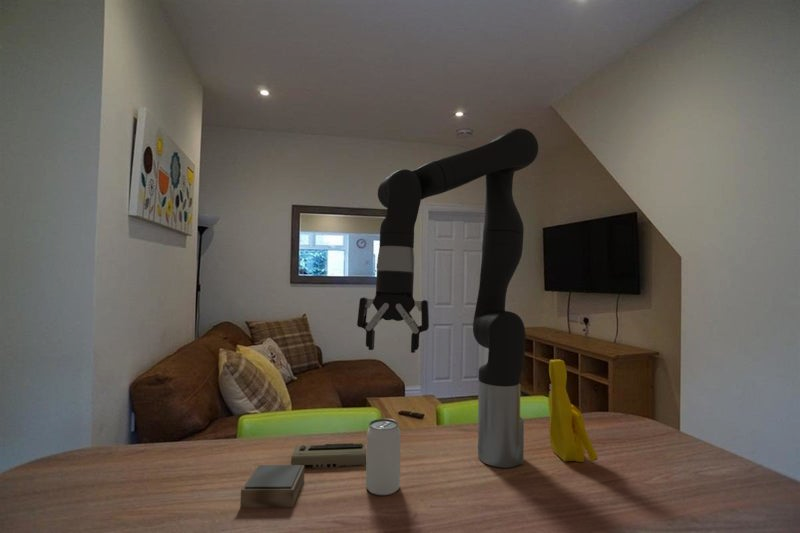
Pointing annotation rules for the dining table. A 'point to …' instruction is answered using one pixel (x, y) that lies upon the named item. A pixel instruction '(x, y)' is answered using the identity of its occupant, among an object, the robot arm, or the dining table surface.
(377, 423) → the can
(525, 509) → the dining table surface
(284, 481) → the stand
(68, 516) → the dining table surface
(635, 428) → the dining table surface
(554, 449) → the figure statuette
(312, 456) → the computer
